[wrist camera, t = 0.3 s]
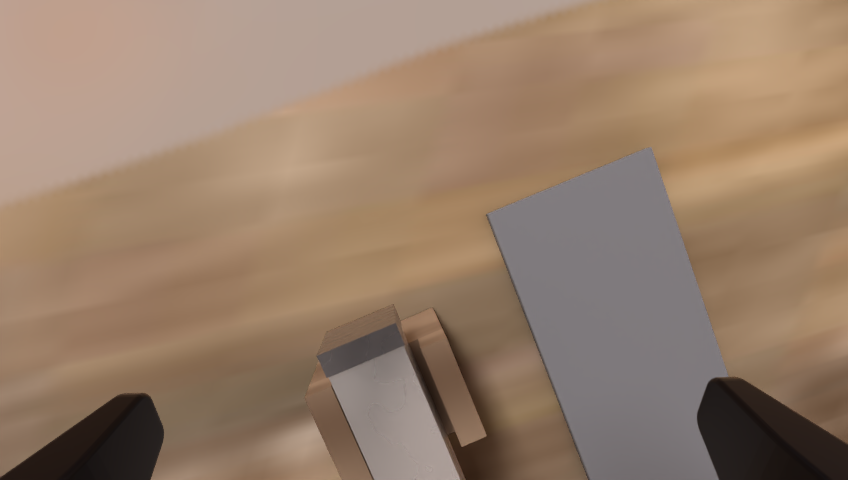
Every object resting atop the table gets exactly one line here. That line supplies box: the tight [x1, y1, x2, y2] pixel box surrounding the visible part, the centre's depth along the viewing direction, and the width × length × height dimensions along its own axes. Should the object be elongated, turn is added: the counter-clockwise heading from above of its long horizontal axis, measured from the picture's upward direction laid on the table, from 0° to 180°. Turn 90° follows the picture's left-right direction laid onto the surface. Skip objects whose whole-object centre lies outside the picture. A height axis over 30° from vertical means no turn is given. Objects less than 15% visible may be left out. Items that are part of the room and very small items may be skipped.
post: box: [305, 307, 487, 480], centre depth 19 cm, size 4×5×5 cm
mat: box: [486, 147, 728, 480], centre depth 23 cm, size 20×8×1 cm, turn 22°
